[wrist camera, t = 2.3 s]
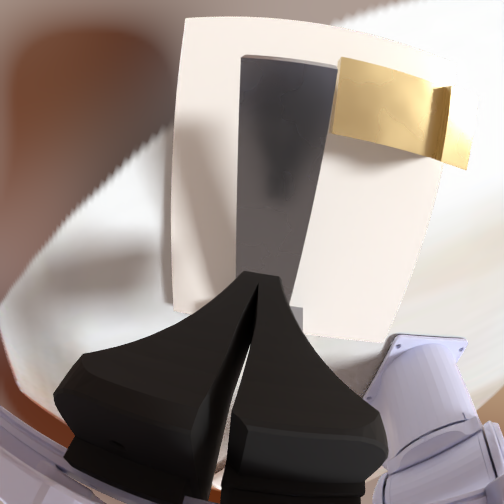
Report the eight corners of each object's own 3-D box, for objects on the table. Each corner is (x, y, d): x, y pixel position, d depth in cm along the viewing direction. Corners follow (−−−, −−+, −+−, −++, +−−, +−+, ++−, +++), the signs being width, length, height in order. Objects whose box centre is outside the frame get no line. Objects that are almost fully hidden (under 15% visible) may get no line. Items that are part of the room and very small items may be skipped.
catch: (432, 157, 14) (466, 170, 10) (325, 130, 15) (334, 134, 11) (441, 98, 12) (477, 97, 9) (332, 68, 13) (344, 52, 9)
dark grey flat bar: (282, 324, 20) (279, 342, 19) (238, 317, 20) (234, 334, 19) (335, 64, 8) (338, 70, 7) (247, 53, 9) (238, 58, 8)
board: (379, 330, 22) (389, 366, 18) (180, 299, 23) (161, 331, 19) (445, 66, 13) (476, 59, 9) (193, 24, 14) (168, 5, 11)
